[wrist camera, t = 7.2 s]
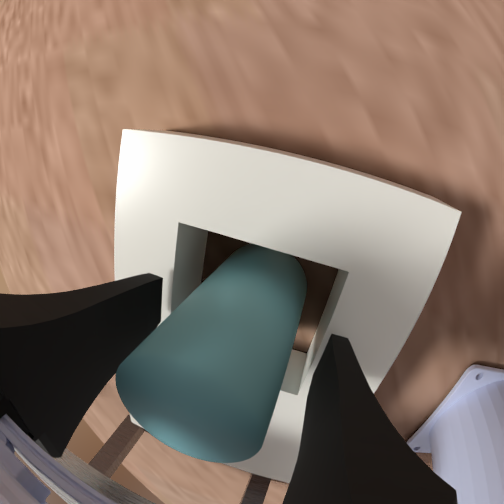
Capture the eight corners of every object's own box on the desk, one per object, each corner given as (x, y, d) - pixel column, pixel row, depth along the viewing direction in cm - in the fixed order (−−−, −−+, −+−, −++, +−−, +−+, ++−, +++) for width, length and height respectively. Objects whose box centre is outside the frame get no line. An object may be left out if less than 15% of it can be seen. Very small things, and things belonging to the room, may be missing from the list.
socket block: (434, 196, 10) (461, 212, 7) (306, 451, 17) (298, 485, 14) (164, 130, 12) (123, 129, 10) (151, 395, 19) (131, 421, 16)
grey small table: (317, 409, 15) (273, 583, 5) (269, 481, 20) (231, 581, 10) (113, 331, 18) (1, 432, 8) (128, 423, 22) (66, 501, 12)
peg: (317, 257, 12) (284, 398, 5) (294, 332, 14) (246, 476, 7) (229, 232, 13) (107, 327, 6) (216, 307, 15) (124, 424, 7)
